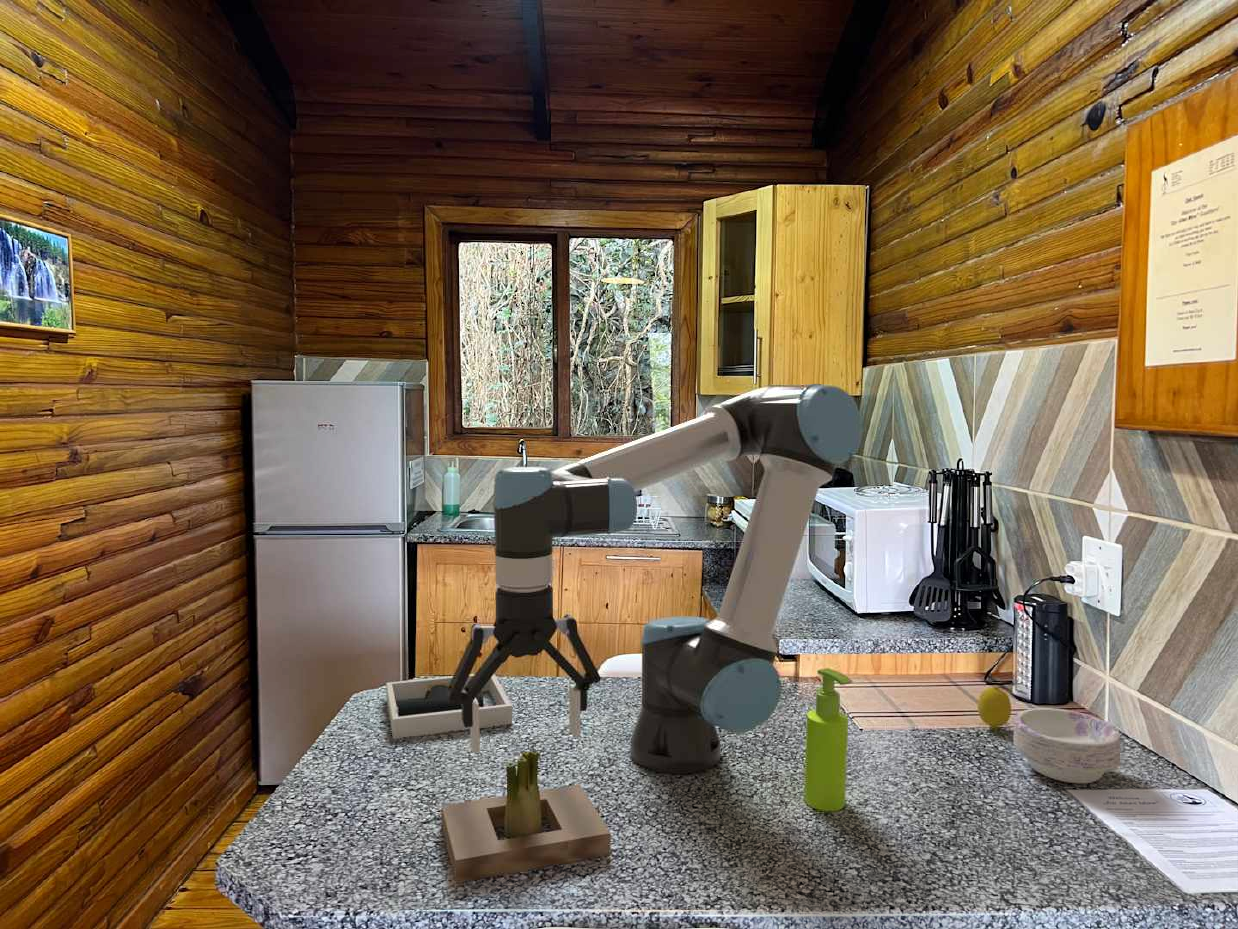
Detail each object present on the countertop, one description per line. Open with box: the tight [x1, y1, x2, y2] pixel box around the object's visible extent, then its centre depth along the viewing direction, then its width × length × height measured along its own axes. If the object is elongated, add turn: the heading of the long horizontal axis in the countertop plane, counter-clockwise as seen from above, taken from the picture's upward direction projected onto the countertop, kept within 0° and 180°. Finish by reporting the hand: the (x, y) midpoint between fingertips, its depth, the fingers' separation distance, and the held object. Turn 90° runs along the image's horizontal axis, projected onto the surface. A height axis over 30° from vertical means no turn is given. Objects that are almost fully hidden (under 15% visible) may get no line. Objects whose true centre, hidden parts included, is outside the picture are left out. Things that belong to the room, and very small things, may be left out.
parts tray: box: [385, 673, 513, 740], centre depth 152 cm, size 21×19×4 cm
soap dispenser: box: [803, 668, 853, 812], centre depth 118 cm, size 6×7×20 cm
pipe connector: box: [397, 683, 485, 717], centre depth 149 cm, size 12×5×15 cm
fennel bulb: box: [503, 750, 543, 839], centre depth 108 cm, size 6×5×12 cm
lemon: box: [977, 685, 1012, 730], centre depth 147 cm, size 6×6×8 cm
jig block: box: [441, 783, 611, 884], centre depth 108 cm, size 20×14×3 cm
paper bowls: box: [1012, 707, 1122, 784], centre depth 130 cm, size 15×15×8 cm
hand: (526, 741), depth 107 cm, fingers open, 13 cm apart
